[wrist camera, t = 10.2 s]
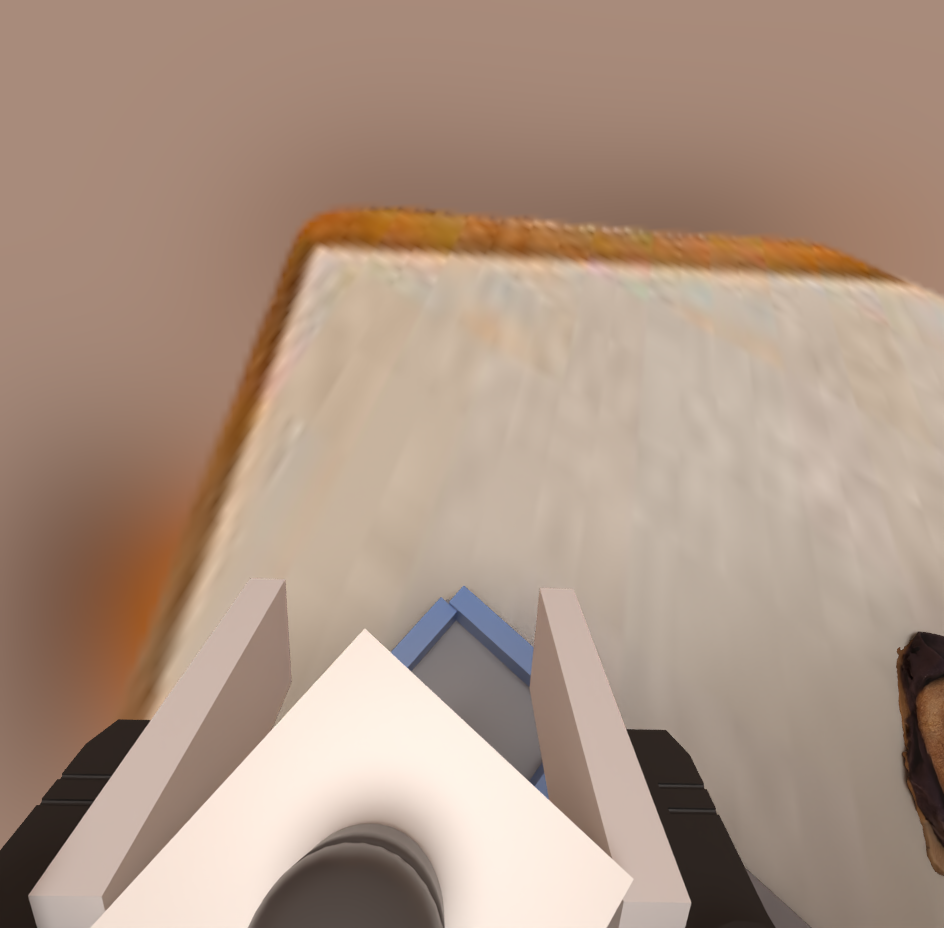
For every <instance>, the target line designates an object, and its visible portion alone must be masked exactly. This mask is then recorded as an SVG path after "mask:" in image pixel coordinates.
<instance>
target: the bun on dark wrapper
mask: <svg viewBox="0 0 944 928" xmlns="http://www.w3.org/2000/svg"><path fill="white" fill-rule="evenodd" d="M897 653H898V655H899V657H898V659H897V666H896V668H897V674H898V689H899V700H898V701H899V708H900V712H901V716H902V728H903V731H904V734H903V736H904V741H905V746H906V747H907V749H908V751H907V752H903V754H902V755H903V756H904V757H905V760H906V762H905V767H906V768H907V769H908V771H909V776H908V779H907V784H908V787H909V789H910V791H911V792H912V794H913V797H914V799H915V802H916V810H917V812H918V815H919V817H920V822H921V824H922V826H923V833H924V838H925V841H926V847H927V856H928V858H929V860H930V862H931V865H932V867H933V869H934V870H935V872H937V873H938V874H940V875H943V876H944V636H940V635H937V634H932V633H926V632H923V633H922V632H918V633H917V635H916V637H915V638H914V639H913V640H910V642H909V644H908V645H907V646H904V649H903V650H900V647H899V648H898V649H897Z"/></svg>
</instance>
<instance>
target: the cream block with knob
mask: <svg viewBox="0 0 944 928" xmlns="http://www.w3.org/2000/svg"><path fill="white" fill-rule="evenodd" d="M633 880H634V879H633V878H632V877H631V876H630V875H629V874H628V873H627V872H626V871H624V870H623V869H622V868H621V867H620V866H619V865H618V864H617V863H616V862H615V861H614V860H613V859H612V858H611V857H609V856H608V855H607V854H606V853H605V852H604V851H603V850H602V849H601V848H600V847H599V846H598V845H597V844H596V843H594V842H593V841H592V840H591V839H590V838H589V837H588V836H587V835H586V834H585V833H584V832H583V831H582V830H581V829H579V828H578V827H577V826H576V825H575V824H574V823H573V822H572V821H571V820H570V819H569V818H568V817H567V816H565V815H564V814H563V813H562V812H561V811H560V810H559V809H558V808H557V807H556V806H555V805H554V804H553V803H552V802H550V801H549V800H548V799H547V798H546V797H545V796H544V795H543V794H542V793H541V792H540V791H539V790H538V789H537V788H535V787H534V786H533V785H532V784H531V783H530V782H529V781H528V780H527V779H526V778H525V777H524V776H523V775H522V774H520V773H519V772H518V771H517V770H516V769H515V768H514V767H513V766H512V765H511V764H510V763H509V762H508V761H506V760H505V759H504V758H503V757H502V756H501V755H500V754H499V753H498V752H497V751H496V750H495V749H494V748H493V747H491V746H490V745H489V744H488V743H487V742H486V741H485V740H484V739H483V738H482V737H481V736H480V735H479V734H478V733H476V732H475V731H474V730H473V729H472V728H471V727H470V726H469V725H468V724H467V723H466V722H465V721H464V720H463V719H461V718H460V717H459V716H458V715H457V714H456V713H455V712H454V711H453V710H452V709H451V708H450V707H449V706H447V705H446V704H445V703H444V702H443V701H442V700H441V699H440V698H439V697H438V696H437V695H436V694H435V693H434V692H432V691H431V690H430V689H429V688H428V687H427V686H426V685H425V684H424V683H423V682H422V681H421V680H420V679H419V678H417V677H416V676H415V675H414V674H413V673H412V672H411V671H410V670H409V669H408V668H407V667H406V666H405V665H403V664H402V663H401V662H400V661H399V660H398V659H397V658H396V657H395V656H394V655H393V654H392V653H391V652H390V651H388V650H387V649H386V648H385V647H384V646H383V645H382V644H381V643H380V642H379V641H378V640H377V639H376V638H375V637H373V636H372V635H371V634H370V633H369V632H368V631H367V630H366V629H364V630H363V631H362V632H361V633H360V634H359V635H358V636H357V637H356V639H355V640H354V641H353V642H352V643H351V644H350V645H349V646H348V647H347V648H346V649H345V651H344V652H343V653H342V654H341V655H340V656H339V657H338V658H337V659H336V660H335V661H334V663H333V664H332V665H331V666H330V667H329V668H328V669H327V670H326V671H325V672H324V673H323V675H322V676H321V677H320V678H319V679H318V680H317V681H316V682H315V683H314V684H313V685H312V687H311V688H310V689H309V690H308V691H307V692H306V693H305V694H304V695H303V696H302V697H301V699H300V700H299V701H298V702H297V703H296V704H295V705H294V706H293V707H292V708H291V709H290V711H289V712H288V713H287V714H286V715H285V716H284V717H283V718H282V719H281V720H280V721H279V723H278V724H277V725H276V726H275V727H274V728H273V729H272V730H271V731H270V732H269V733H268V735H267V736H266V737H265V738H264V739H263V740H262V741H261V742H260V743H259V744H258V745H257V747H256V748H255V749H254V750H253V751H252V752H251V753H250V754H249V755H248V756H247V757H246V759H245V760H244V761H243V762H242V763H241V764H240V765H239V766H238V767H237V768H236V769H235V771H234V772H233V773H232V774H231V775H230V776H229V777H228V778H227V779H226V780H225V781H224V783H223V784H222V785H221V786H220V787H219V788H218V789H217V790H216V791H215V792H214V793H213V795H212V796H211V797H210V798H209V799H208V800H207V801H206V802H205V803H204V804H203V805H202V807H201V808H200V809H199V810H198V811H197V812H196V813H195V814H194V815H193V816H192V817H191V819H190V820H189V821H188V822H187V823H186V824H185V825H184V826H183V827H182V828H181V829H180V831H179V832H178V833H177V834H176V835H175V836H174V837H173V838H172V839H171V840H170V841H169V843H168V844H167V845H166V846H165V847H164V848H163V849H162V850H161V851H160V852H159V853H158V855H157V856H156V857H155V858H154V859H153V860H152V861H151V862H150V863H149V864H148V865H147V867H146V868H145V869H144V870H143V871H142V872H141V873H140V874H139V875H138V876H137V877H136V878H135V880H134V881H133V882H132V883H131V884H130V885H129V886H128V887H127V888H126V889H125V890H124V892H123V893H122V894H121V895H120V896H119V897H118V898H117V899H116V900H115V901H114V902H113V904H112V905H111V906H110V907H109V908H108V909H107V910H106V911H105V912H104V913H103V914H102V916H101V917H100V918H99V919H98V920H97V921H96V922H95V923H94V924H93V925H92V926H91V928H607V926H608V924H609V923H610V921H611V919H612V917H613V915H614V914H615V912H616V910H617V908H618V906H619V905H620V903H621V901H622V899H623V897H624V896H625V894H626V892H627V890H628V888H629V887H630V885H631V883H632V881H633Z"/></svg>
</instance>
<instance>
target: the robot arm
mask: <svg viewBox="0 0 944 928" xmlns="http://www.w3.org/2000/svg"><path fill="white" fill-rule="evenodd" d="M291 682H292V681H291V664H290V648H289V632H288V615H287V599H286V582H285V579H263V578H250V579H249V581H248V582H247V583H246V585H245V586H244V588H243V589H242V591H241V592H240V593H239V595H238V596H237V598H236V599H235V601H234V602H233V603H232V605H231V606H230V608H229V609H228V611H227V612H226V613H225V615H224V616H223V618H222V619H221V621H220V622H219V623H218V625H217V626H216V628H215V629H214V631H213V632H212V633H211V635H210V636H209V638H208V639H207V641H206V642H205V643H204V645H203V646H202V648H201V649H200V651H199V652H198V653H197V655H196V656H195V658H194V659H193V661H192V662H191V663H190V665H189V666H188V668H187V669H186V671H185V672H184V673H183V675H182V676H181V678H180V679H179V681H178V682H177V684H176V685H175V686H174V688H173V689H172V691H171V692H170V694H169V695H168V696H167V698H166V699H165V701H164V702H163V704H162V705H161V706H160V708H159V709H158V711H157V712H156V714H155V715H154V716H153V718H152V719H151V720H117V721H116V722H114V723H113V724H112V725H110V726H109V727H108V728H106V729H105V730H104V731H103V732H101V733H100V734H98V735H97V736H96V737H94V738H93V739H92V740H90V741H89V742H88V743H87V744H86V745H85V746H84V747H83V748H82V749H81V751H80V752H79V753H78V754H77V756H76V757H75V758H74V759H73V761H72V762H71V763H70V764H69V766H68V767H67V768H66V769H65V771H64V772H63V773H62V777H61V779H58V780H57V781H56V782H55V783H54V785H53V786H52V787H51V788H50V789H49V791H48V792H47V793H46V794H45V796H44V797H43V798H42V802H41V804H40V805H37V806H36V807H35V808H34V809H33V811H32V812H31V813H30V814H29V815H28V817H27V818H26V819H25V820H24V822H23V823H22V824H21V825H20V827H19V828H18V829H17V830H16V832H15V833H14V834H13V835H12V837H11V838H10V839H9V840H8V841H7V843H6V844H5V845H4V846H3V848H2V849H1V850H0V928H91V926H92V925H93V924H94V923H95V922H96V921H97V920H98V919H99V918H100V917H101V916H102V914H103V913H104V912H105V911H106V910H107V909H108V908H109V907H110V906H111V905H112V904H113V902H114V901H115V900H116V899H117V898H118V897H119V896H120V895H121V894H122V893H123V892H124V890H125V889H126V888H127V887H128V886H129V885H130V884H131V883H132V882H133V881H134V880H135V878H136V877H137V876H138V875H139V874H140V873H141V872H142V871H143V870H144V869H145V868H146V867H147V865H148V864H149V863H150V862H151V861H152V860H153V859H154V858H155V857H156V856H157V855H158V853H159V852H160V851H161V850H162V849H163V848H164V847H165V846H166V845H167V844H168V843H169V841H170V840H171V839H172V838H173V837H174V836H175V835H176V834H177V833H178V832H179V831H180V829H181V828H182V827H183V826H184V825H185V824H186V823H187V822H188V821H189V820H190V819H191V817H192V816H193V815H194V814H195V813H196V812H197V811H198V810H199V809H200V808H201V807H202V805H203V804H204V803H205V802H206V801H207V800H208V799H209V798H210V797H211V796H212V795H213V793H214V792H215V791H216V790H217V789H218V788H219V787H220V786H221V785H222V784H223V783H224V781H225V780H226V779H227V778H228V777H229V776H230V775H231V774H232V773H233V772H234V771H235V769H236V768H237V767H238V766H239V765H240V764H241V763H242V762H243V761H244V760H245V759H246V757H247V756H248V755H249V754H250V753H251V752H252V751H253V750H254V749H255V748H256V747H257V745H258V744H259V743H260V742H261V741H262V740H263V739H264V738H265V737H266V736H267V735H268V733H269V732H270V731H271V730H272V728H273V725H274V723H275V721H276V718H277V716H278V713H279V711H280V709H281V706H282V704H283V701H284V699H285V697H286V694H287V692H288V689H289V687H290V684H291ZM530 694H531V699H532V705H533V711H534V717H535V722H536V728H537V734H538V739H539V745H540V751H541V757H542V762H543V768H544V774H545V779H546V785H547V791H548V796H549V801H550V802H552V803H553V804H554V805H555V806H556V807H557V808H558V809H559V810H560V811H561V812H562V813H563V814H564V815H565V816H567V817H568V818H569V819H570V820H571V821H572V822H573V823H574V824H575V825H576V826H577V827H578V828H579V829H581V830H582V831H583V832H584V833H585V834H586V835H587V836H588V837H589V838H590V839H591V840H592V841H593V842H594V843H596V844H597V845H598V846H599V847H600V848H601V849H602V850H603V851H604V852H605V853H606V854H607V855H608V856H609V857H611V858H612V859H613V860H614V861H615V862H616V863H617V864H618V865H619V866H620V867H621V868H622V869H623V870H624V871H626V872H627V873H628V874H629V875H630V876H631V877H632V878H633V879H634V880H633V881H632V883H631V885H630V887H629V888H628V890H627V892H626V894H625V896H624V897H623V899H622V901H621V903H620V905H619V906H618V908H617V910H616V912H615V914H614V915H613V917H612V919H611V921H610V923H609V924H608V926H607V928H776V927H775V926H774V924H773V922H772V921H771V919H770V917H769V916H768V914H767V912H766V910H765V908H764V906H763V904H762V902H761V900H760V898H759V896H758V894H757V892H756V890H755V888H754V886H753V883H752V881H751V879H750V877H749V875H748V873H747V871H746V869H745V867H744V865H743V863H742V861H741V859H740V857H739V855H738V853H737V851H736V849H735V847H734V845H733V843H732V841H731V838H730V836H729V834H728V832H727V830H726V828H725V826H724V824H723V822H722V820H721V818H720V816H719V815H717V814H716V808H715V806H714V804H713V802H712V800H711V798H710V796H709V793H708V791H707V790H705V789H704V783H703V781H702V779H701V777H700V775H699V773H698V771H697V769H696V767H695V765H694V763H693V761H692V759H691V757H690V755H689V754H688V753H687V752H686V751H685V750H684V748H683V747H682V746H681V745H680V744H679V743H678V742H677V741H676V740H675V739H674V738H673V737H672V736H671V735H670V734H669V733H668V732H667V731H666V730H634V729H626V727H625V725H624V722H623V719H622V717H621V714H620V711H619V709H618V706H617V703H616V701H615V698H614V695H613V693H612V690H611V687H610V685H609V682H608V679H607V677H606V674H605V671H604V669H603V666H602V663H601V661H600V658H599V655H598V653H597V650H596V647H595V645H594V642H593V639H592V637H591V634H590V631H589V629H588V626H587V623H586V621H585V618H584V615H583V613H582V610H581V607H580V605H579V602H578V599H577V597H576V594H575V591H574V589H563V588H540V591H539V601H538V611H537V620H536V630H535V640H534V649H533V659H532V669H531V678H530Z"/></svg>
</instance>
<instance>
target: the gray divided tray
mask: <svg viewBox="0 0 944 928" xmlns="http://www.w3.org/2000/svg"><path fill="white" fill-rule="evenodd" d="M533 649H534V647H533V646H531V645H530V644H529V643H528V642H527V641H526V640H525V639H524V638H522V637H521V636H520V635H519V634H518V633H517V632H516V631H514V630H513V629H512V628H511V627H510V626H509V625H508V624H507V623H505V622H504V621H503V620H502V619H501V618H500V617H499V616H498V615H496V614H495V613H494V612H493V611H492V610H491V609H490V608H489V607H487V606H486V605H485V604H484V603H483V602H482V601H481V600H480V599H478V598H477V597H476V596H475V595H474V594H473V593H472V592H471V591H469V590H468V589H467V588H466V587H465V586H463V587H462V588H461V589H460V590H459V591H458V593H457V594H456V595H455V596H454V597H453V598H452V599H451V600H448V599H447V600H446V601H445V600H444V599H443V598H442V597H441V598H440V599H439V600H438V601H437V602H436V603H435V604H434V605H433V606H432V607H431V609H430V610H429V611H428V612H427V613H426V614H425V615H424V616H423V617H422V618H421V620H420V621H419V622H418V623H417V624H416V625H415V626H414V627H413V628H412V629H411V631H410V632H409V633H408V634H407V635H406V636H405V637H404V638H403V639H402V640H401V642H400V643H399V644H398V645H397V646H396V647H395V648H394V649H393V650H392V651H391V653H392V654H393V655H394V656H395V657H396V658H397V659H398V660H399V661H400V662H401V663H402V664H403V665H405V666H406V667H407V668H408V669H409V670H410V671H411V672H412V673H413V674H414V675H415V676H416V677H417V678H419V679H420V680H421V681H422V682H423V683H424V684H425V685H426V686H427V687H428V688H429V689H430V690H431V691H432V692H434V693H435V694H436V695H437V696H438V697H439V698H440V699H441V700H442V701H443V702H444V703H445V704H446V705H447V706H449V707H450V708H451V709H452V710H453V711H454V712H455V713H456V714H457V715H458V716H459V717H460V718H461V719H463V720H464V721H465V722H466V723H467V724H468V725H469V726H470V727H471V728H472V729H473V730H474V731H475V732H476V733H478V734H479V735H480V736H481V737H482V738H483V739H484V740H485V741H486V742H487V743H488V744H489V745H490V746H491V747H493V748H494V749H495V750H496V751H497V752H498V753H499V754H500V755H501V756H502V757H503V758H504V759H505V760H506V761H508V762H509V763H510V764H511V765H512V766H513V767H514V768H515V769H516V770H517V771H518V772H519V773H520V774H522V775H523V776H524V777H525V778H526V779H527V780H528V781H529V782H530V783H531V784H532V785H533V786H534V787H535V788H537V789H538V790H539V791H540V792H541V793H542V794H543V795H544V796H545V797H546V798H547V799H548V800H549V796H548V791H547V785H546V779H545V774H544V768H543V762H542V757H541V751H540V745H539V739H538V734H537V728H536V722H535V717H534V711H533V705H532V699H531V694H530V678H531V669H532V659H533ZM745 869H746V868H745ZM746 871H747V873H748V875H749V877H750V879H751V881H752V883H753V886H754V888H755V890H756V892H757V894H758V896H759V898H760V900H761V902H762V904H763V906H764V908H765V910H766V912H767V914H768V916H769V917H770V919H771V921H772V922H773V924H774V926H775V927H776V928H811V927H810V926H809V925H808V924H807V923H806V922H804V921H803V920H802V919H801V918H800V917H799V916H798V915H797V914H796V913H794V912H793V911H792V910H791V909H790V908H789V907H788V906H787V905H786V904H785V903H783V902H782V901H781V900H780V899H779V898H778V897H777V896H776V895H775V894H773V893H772V892H771V891H770V890H769V889H768V888H767V887H766V886H765V885H764V884H762V883H761V882H760V881H759V880H758V879H757V878H756V877H755V876H754V875H752V874H751V873H750V872H749V871H748V870H747V869H746Z"/></svg>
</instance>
